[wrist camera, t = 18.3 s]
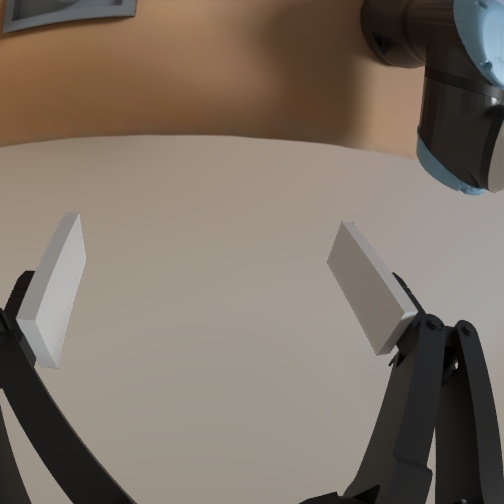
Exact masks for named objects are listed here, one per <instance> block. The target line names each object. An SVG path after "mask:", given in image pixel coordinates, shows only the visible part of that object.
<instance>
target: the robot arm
mask: <svg viewBox="0 0 504 504" xmlns="http://www.w3.org/2000/svg"><path fill="white" fill-rule="evenodd" d="M361 27H362V31H363V35H364V37H365V39H366V42H367V43H368V45H369V47H370V48H371V49H372V51H373V52H374V53H375V54H376V55H377V56H378V57H379V58H380V59H382V60H383V61H385V62H387V63H389V64H391V65H394V66H398V67H402V68H418V67H422V66H425V75H424V85H423V96H422V105H421V114H420V122H419V125H418V127H417V135H418V140H417V149H416V151H417V156H418V159H419V162H420V163H421V165H422V166H423V168H424V169H425V170H426V171H427V172H428V173H429V174H430V175H431V176H432V177H434V178H435V179H436V180H438V181H439V182H441V183H443V184H444V185H446V186H447V187H450V188H451V189H454V190H456V191H458V190H461V191H462V192H463V193H464V194H468V195H480V194H482V193H483V192H484V191H485V190H488V191H490V192H492V193H496V192H498V191H501V190H503V189H504V6H503V5H502V4H501V3H500V2H498V1H496V0H365V1H364V3H363V6H362V10H361ZM85 262H86V254H85V248H84V242H83V236H82V229H81V222H80V214H79V213H65V214H64V215H63V217H62V219H61V221H60V223H59V224H58V226H57V228H56V230H55V232H54V234H53V236H52V238H51V240H50V242H49V244H48V246H47V248H46V250H45V252H44V254H43V256H42V258H41V260H40V263H39V265H38V267H37V269H36V271H25V272H24V273H23V274H22V275H21V276H20V277H19V278H18V279H17V282H16V284H15V286H14V290H12V293H11V295H10V297H9V299H8V302H7V304H6V307H5V309H4V311H3V310H2V308H0V389H1V388H2V389H3V391H4V393H5V395H6V397H7V399H8V401H9V403H10V405H11V407H12V409H13V411H14V413H15V415H16V417H17V419H18V421H19V423H20V424H21V426H22V428H23V430H24V431H25V433H26V435H27V436H28V438H29V440H30V442H31V443H32V445H33V447H34V448H35V450H36V451H37V453H38V454H39V456H40V458H41V459H42V461H43V462H44V464H45V465H46V467H47V468H48V470H49V471H50V473H51V474H52V476H53V477H54V478H55V480H56V481H57V483H58V484H59V485H60V487H61V488H62V489H63V491H64V492H65V493H66V495H67V496H68V497H69V499H70V500H71V501H72V502H73V504H137V503H136V502H135V501H134V500H133V499H132V498H131V497H130V496H129V495H128V494H127V493H126V492H125V491H124V490H123V489H122V488H121V487H120V485H119V484H118V483H117V482H116V481H115V480H114V479H113V478H112V477H111V475H110V474H109V473H108V472H107V471H106V470H105V468H104V467H103V466H102V465H101V464H100V463H99V461H98V460H97V459H96V458H95V457H94V455H93V454H92V453H91V452H90V450H89V449H88V448H87V446H86V445H85V444H84V443H83V441H82V440H81V439H80V437H79V436H78V435H77V433H76V432H75V431H74V429H73V428H72V426H71V425H70V424H69V422H68V421H67V419H66V418H65V416H64V415H63V414H62V412H61V411H60V409H59V408H58V406H57V405H56V403H55V401H54V400H53V399H52V397H51V395H50V394H49V392H48V390H47V389H46V387H45V385H44V384H43V382H42V380H41V379H40V377H39V375H38V374H37V372H36V370H35V368H34V365H35V361H36V359H37V361H38V363H39V365H40V366H41V367H45V368H54V369H58V366H59V361H60V356H61V352H62V347H63V342H64V338H65V334H66V330H67V326H68V322H69V318H70V313H71V310H72V306H73V302H74V299H75V295H76V292H77V288H78V285H79V282H80V278H81V275H82V272H83V269H84V266H85ZM327 264H328V265H329V267H330V269H331V271H332V272H333V274H334V276H335V278H336V280H337V281H338V283H339V285H340V287H341V289H342V290H343V292H344V294H345V296H346V298H347V300H348V302H349V304H350V305H351V307H352V309H353V311H354V313H355V315H356V317H357V318H358V320H359V322H360V324H361V326H362V328H363V330H364V332H365V334H366V336H367V338H368V340H369V342H370V344H371V346H372V348H373V350H374V351H375V353H376V355H382V354H388V353H390V352H391V351H392V349H393V348H394V346H395V345H397V347H398V349H399V351H398V352H397V354H396V355H395V356H394V358H393V359H392V360H391V362H390V363H389V366H391V365H392V363H394V364H393V368H392V372H391V375H390V379H389V383H388V386H387V389H386V393H385V396H384V399H383V403H382V406H381V409H380V413H379V415H378V418H377V422H376V425H375V428H374V431H373V434H372V436H371V439H370V442H369V445H368V447H367V450H366V453H365V455H364V458H363V460H362V463H361V466H360V468H359V471H358V473H357V475H356V477H355V479H354V481H353V482H352V483H351V484H350V485H349V487H348V488H347V489H346V491H345V493H344V494H343V496H338V494H337V492H333V493H329V494H325V495H322V496H318V497H314V498H310V499H307V500H305V501H303V502H301V503H299V504H425V503H426V499H427V496H428V492H429V489H430V485H431V481H432V474H433V473H432V470H430V469H429V468H427V461H428V456H429V452H430V447H431V443H432V438H433V432H434V428H435V436H436V484H435V504H504V477H503V463H502V451H501V443H500V435H499V428H498V421H497V415H496V409H495V404H494V398H493V393H492V388H491V383H490V379H489V375H488V370H487V366H486V362H485V359H484V354H483V351H482V347H481V343H480V340H479V337H478V333H477V331H476V329H475V327H474V326H473V325H472V324H471V323H470V322H468V321H465V320H460V321H458V322H457V324H456V325H455V326H454V327H450V326H445V325H444V324H443V322H442V321H441V320H440V319H439V318H438V317H436V316H435V315H432V314H426V313H425V311H424V310H423V308H422V307H421V305H420V304H419V302H418V301H417V300H416V298H415V297H414V295H413V294H412V292H411V291H410V289H409V288H407V285H406V284H405V282H404V281H403V280H402V279H401V278H400V277H399V276H398V275H396V274H395V273H391V271H390V270H389V269H388V267H387V266H386V264H385V263H384V262H383V260H382V259H381V258H380V256H379V255H378V254H377V252H376V251H375V249H374V248H373V247H372V246H371V244H370V243H369V242H368V240H367V239H366V238H365V236H364V235H363V234H362V232H361V231H360V230H359V229H358V227H357V226H356V225H355V223H354V222H341V224H340V227H339V230H338V233H337V236H336V239H335V241H334V244H333V247H332V250H331V253H330V256H329V258H328V261H327ZM457 362H458V368H457V369H456V368H455V364H456V363H457ZM0 504H31V501H30V499H29V496H28V494H27V492H26V489H25V486H24V484H23V481H22V479H21V476H20V473H19V470H18V467H17V464H16V461H15V458H14V455H13V452H12V449H11V445H10V442H9V438H8V435H7V431H6V427H5V423H4V420H3V416H2V411H1V406H0Z"/></svg>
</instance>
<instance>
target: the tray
mask: <svg viewBox="0 0 504 504" xmlns="http://www.w3.org/2000/svg"><path fill="white" fill-rule="evenodd" d="M136 6H137V0H78V1H76V2H71V3H61V2H58V1H56V0H7V2H6V9H5V17H4V26H3V33H10V32H16V31H20V30H25V29H29V28H34V27H39V26H45V25H51V24H57V23H64V22H71V21H79V20H88V19H99V18H113V17H135V13H136Z"/></svg>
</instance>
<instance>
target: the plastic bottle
mask: <svg viewBox="0 0 504 504" xmlns="http://www.w3.org/2000/svg"><path fill="white" fill-rule="evenodd" d="M56 1H58V2H61V3H71V2H76V1H78V0H56Z"/></svg>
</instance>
